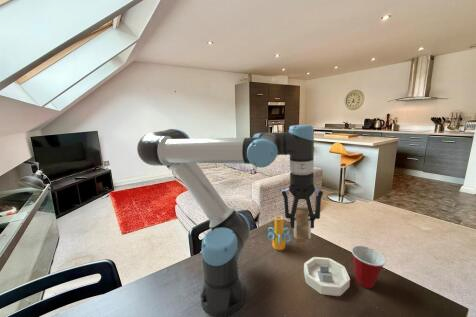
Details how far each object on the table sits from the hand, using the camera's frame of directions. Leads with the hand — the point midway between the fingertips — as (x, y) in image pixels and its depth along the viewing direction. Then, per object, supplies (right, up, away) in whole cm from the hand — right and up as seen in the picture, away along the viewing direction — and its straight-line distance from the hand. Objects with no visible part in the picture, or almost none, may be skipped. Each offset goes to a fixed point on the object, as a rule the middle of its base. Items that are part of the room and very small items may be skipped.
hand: (302, 235), depth 75 cm
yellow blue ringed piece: (-3, -15, +26) cm, 30 cm away
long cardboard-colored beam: (0, -2, 0) cm, 2 cm away
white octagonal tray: (+10, -18, +6) cm, 22 cm away
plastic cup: (+24, -19, +3) cm, 31 cm away
